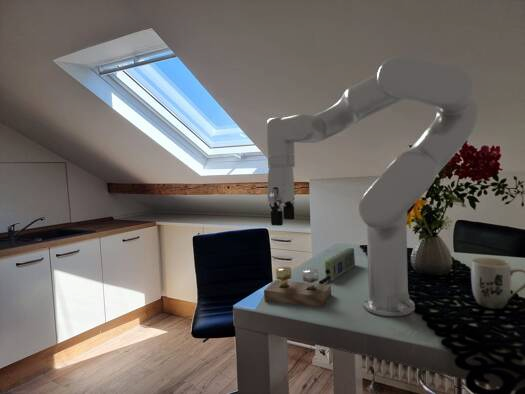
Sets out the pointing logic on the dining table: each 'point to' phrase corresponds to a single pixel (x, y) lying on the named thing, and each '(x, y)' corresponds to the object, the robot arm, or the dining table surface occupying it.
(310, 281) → the steel knob
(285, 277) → the brass knob
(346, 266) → the handheld radio
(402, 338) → the dining table surface
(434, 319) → the dining table surface
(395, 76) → the robot arm
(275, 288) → the panel
